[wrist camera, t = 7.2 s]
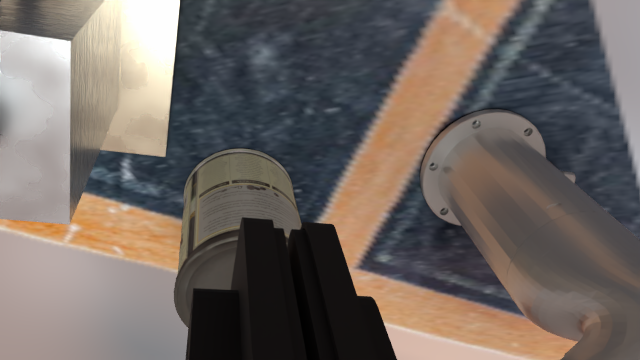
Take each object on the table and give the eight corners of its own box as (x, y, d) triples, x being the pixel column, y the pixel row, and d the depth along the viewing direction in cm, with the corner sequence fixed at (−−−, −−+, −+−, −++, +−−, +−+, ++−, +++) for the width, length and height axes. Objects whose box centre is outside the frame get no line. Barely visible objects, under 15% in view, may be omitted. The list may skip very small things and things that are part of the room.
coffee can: (307, 220, 54) (334, 321, 42) (209, 254, 54) (207, 364, 42) (273, 131, 49) (293, 216, 37) (164, 168, 49) (148, 266, 37)
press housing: (187, -72, 40) (168, -33, 24) (166, 149, 48) (142, 286, 32) (-97, -132, 36) (-348, -134, 20) (-67, 122, 44) (-228, 266, 28)
